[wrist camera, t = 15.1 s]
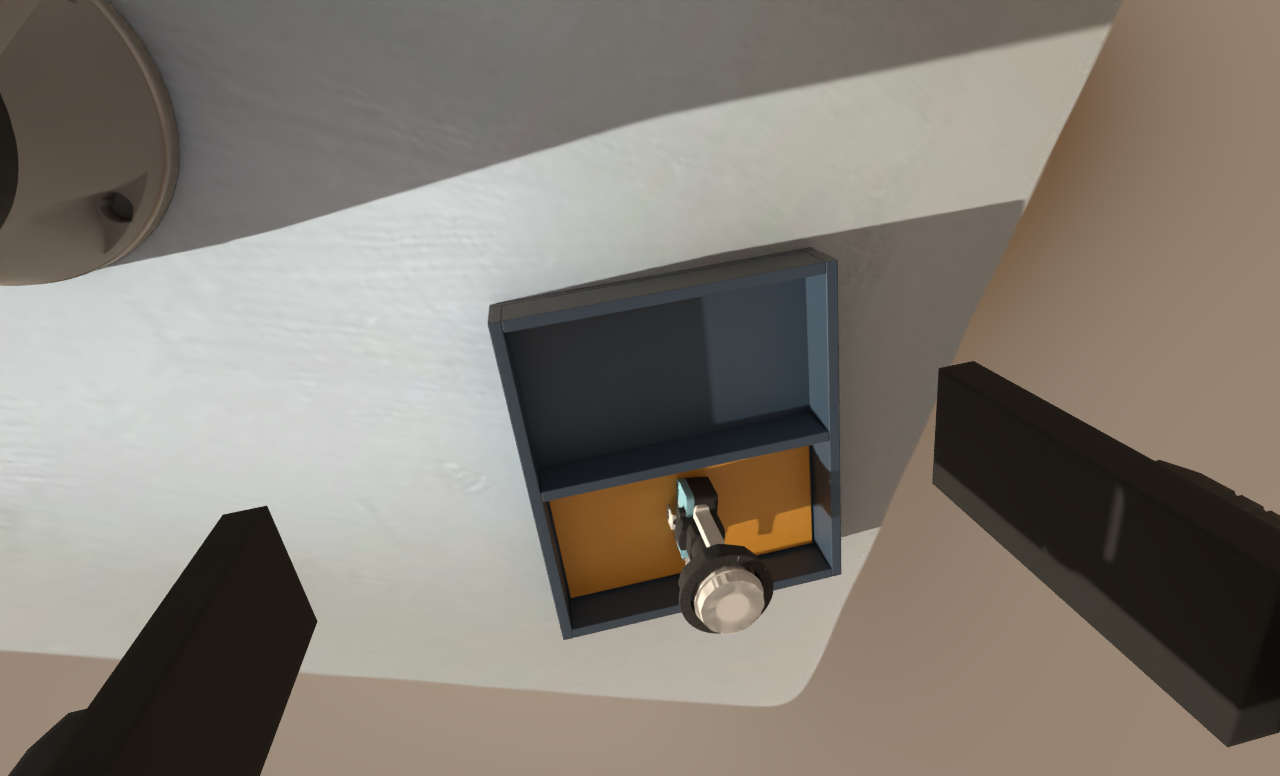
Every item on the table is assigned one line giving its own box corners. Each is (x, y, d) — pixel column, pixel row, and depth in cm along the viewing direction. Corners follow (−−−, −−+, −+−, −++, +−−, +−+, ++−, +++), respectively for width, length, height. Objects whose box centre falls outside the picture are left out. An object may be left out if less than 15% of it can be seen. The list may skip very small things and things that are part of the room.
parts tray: (559, 603, 47) (563, 640, 44) (489, 304, 38) (487, 323, 35) (819, 543, 49) (841, 574, 46) (811, 247, 40) (837, 259, 37)
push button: (721, 551, 47) (772, 659, 38) (647, 558, 46) (681, 670, 37) (728, 468, 44) (785, 562, 35) (650, 474, 43) (687, 571, 34)
